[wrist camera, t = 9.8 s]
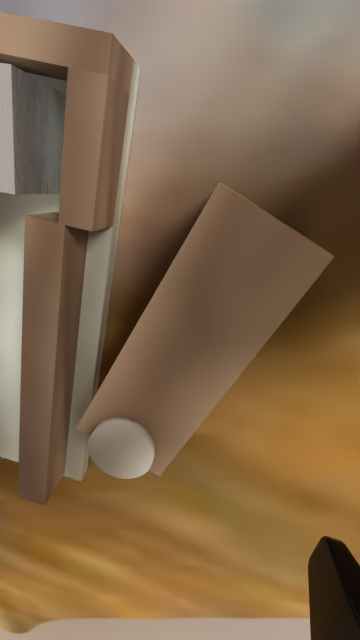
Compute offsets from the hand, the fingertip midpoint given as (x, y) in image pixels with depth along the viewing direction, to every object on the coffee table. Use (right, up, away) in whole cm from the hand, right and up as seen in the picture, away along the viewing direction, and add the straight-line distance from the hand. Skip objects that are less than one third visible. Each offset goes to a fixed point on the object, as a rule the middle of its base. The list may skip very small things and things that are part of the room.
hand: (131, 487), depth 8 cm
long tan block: (+2, +4, +11) cm, 12 cm away
